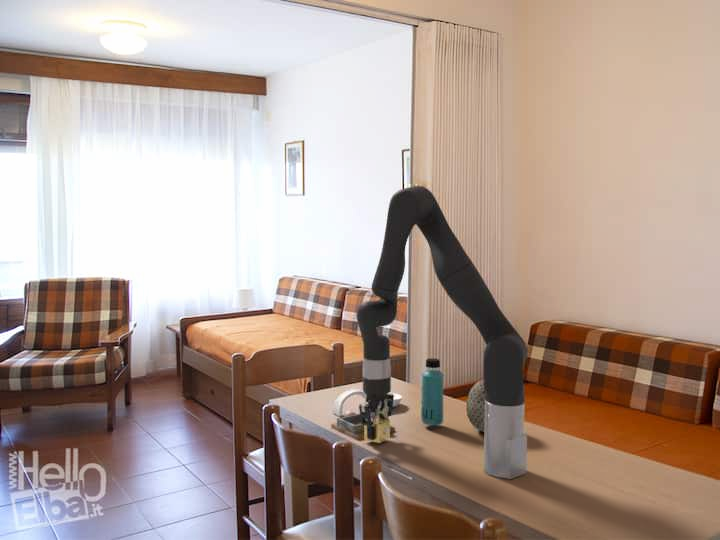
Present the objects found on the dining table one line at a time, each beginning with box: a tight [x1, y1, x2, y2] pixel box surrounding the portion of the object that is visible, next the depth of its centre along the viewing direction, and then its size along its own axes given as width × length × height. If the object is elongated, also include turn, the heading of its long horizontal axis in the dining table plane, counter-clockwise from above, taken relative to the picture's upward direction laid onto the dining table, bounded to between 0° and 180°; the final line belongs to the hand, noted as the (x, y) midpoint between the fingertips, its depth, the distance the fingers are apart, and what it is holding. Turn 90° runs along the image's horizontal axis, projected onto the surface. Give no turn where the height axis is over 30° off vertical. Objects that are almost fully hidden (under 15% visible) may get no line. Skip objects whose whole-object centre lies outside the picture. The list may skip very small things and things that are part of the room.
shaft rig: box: [330, 410, 396, 441], centre depth 188 cm, size 15×13×4 cm
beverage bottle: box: [420, 357, 445, 426], centre depth 190 cm, size 6×7×20 cm
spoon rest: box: [332, 388, 403, 418], centre depth 207 cm, size 24×12×7 cm, turn 124°
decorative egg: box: [465, 379, 485, 433], centre depth 186 cm, size 12×12×15 cm
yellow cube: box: [363, 418, 391, 444], centre depth 178 cm, size 5×5×5 cm
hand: (377, 436), depth 178 cm, fingers closed on yellow cube, 5 cm apart
